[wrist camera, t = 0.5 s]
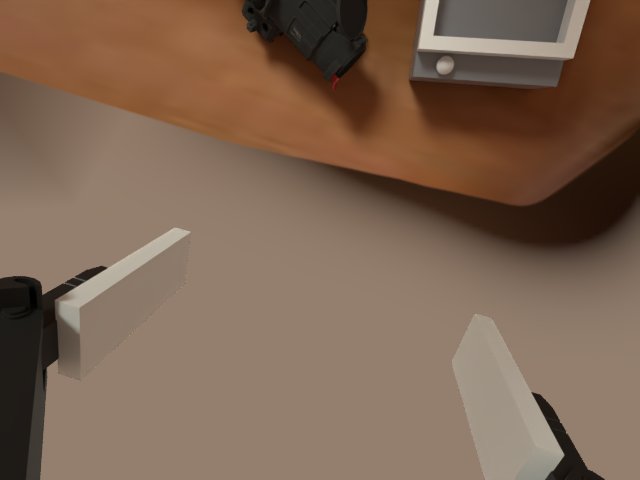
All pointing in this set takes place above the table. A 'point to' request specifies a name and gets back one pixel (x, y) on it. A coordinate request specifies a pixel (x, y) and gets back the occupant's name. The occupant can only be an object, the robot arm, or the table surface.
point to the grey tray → (496, 41)
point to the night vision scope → (314, 29)
